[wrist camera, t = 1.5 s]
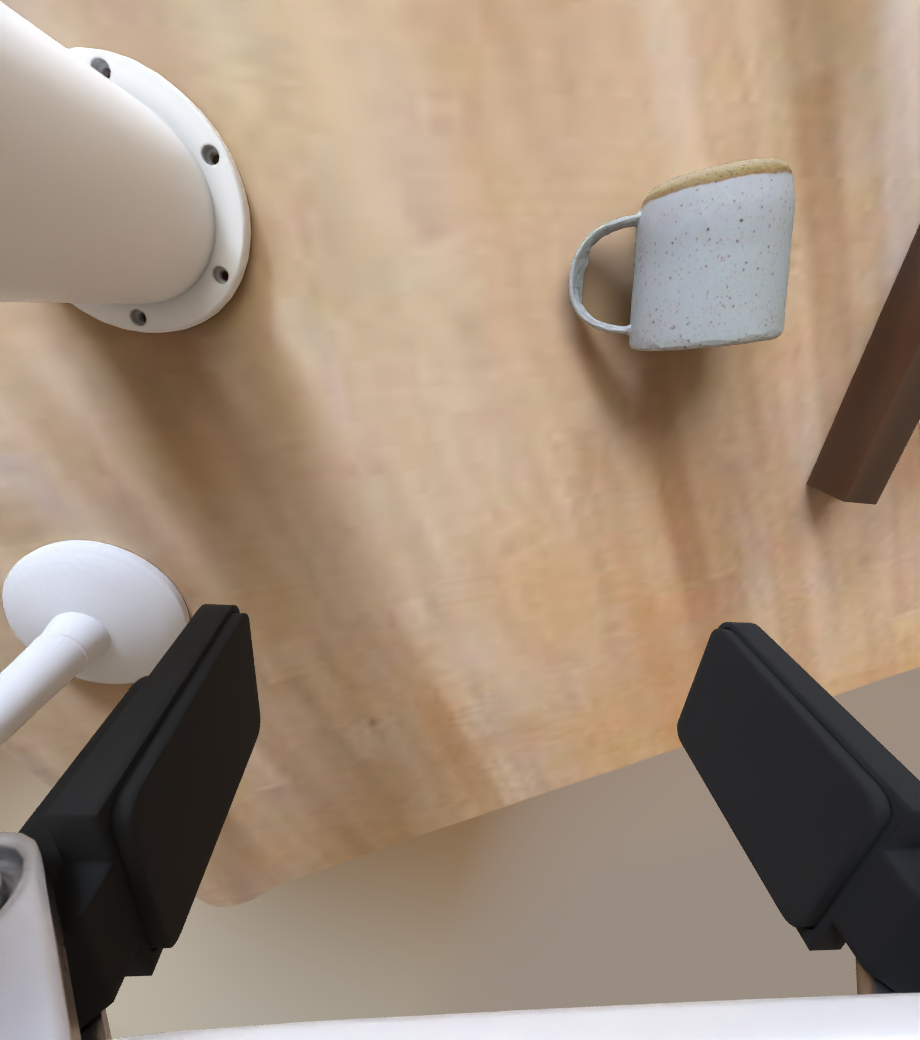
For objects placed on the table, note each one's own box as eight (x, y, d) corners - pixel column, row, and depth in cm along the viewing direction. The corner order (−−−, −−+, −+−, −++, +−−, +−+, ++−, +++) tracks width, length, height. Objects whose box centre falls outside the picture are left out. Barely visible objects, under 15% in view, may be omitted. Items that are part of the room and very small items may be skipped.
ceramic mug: (743, 182, 27) (850, 138, 20) (728, 333, 30) (815, 341, 23) (560, 209, 27) (603, 175, 20) (566, 356, 31) (604, 371, 24)
